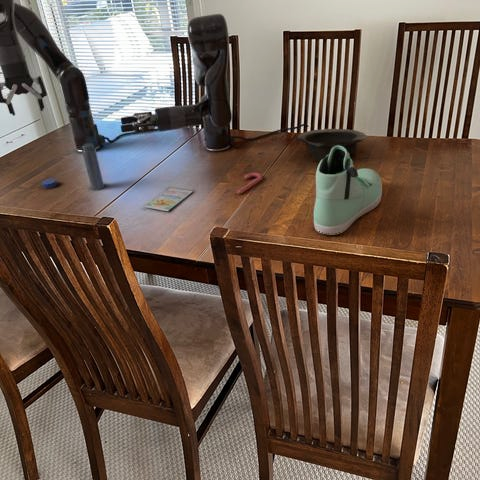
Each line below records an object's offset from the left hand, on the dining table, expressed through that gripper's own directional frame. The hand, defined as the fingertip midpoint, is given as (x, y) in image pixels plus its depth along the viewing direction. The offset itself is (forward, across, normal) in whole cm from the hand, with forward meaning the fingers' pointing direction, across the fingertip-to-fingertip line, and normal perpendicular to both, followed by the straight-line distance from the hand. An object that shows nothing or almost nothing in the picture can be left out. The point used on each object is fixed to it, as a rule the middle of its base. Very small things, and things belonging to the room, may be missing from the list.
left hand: (28, 112), depth 155 cm
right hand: (+6, +27, -12) cm, 30 cm away
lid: (+25, 0, 0) cm, 25 cm away
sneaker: (+26, +80, -65) cm, 106 cm away
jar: (+26, +15, -10) cm, 32 cm away
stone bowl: (+26, +97, -26) cm, 104 cm away
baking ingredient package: (+26, +35, -32) cm, 54 cm away
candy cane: (+26, +61, -35) cm, 75 cm away
